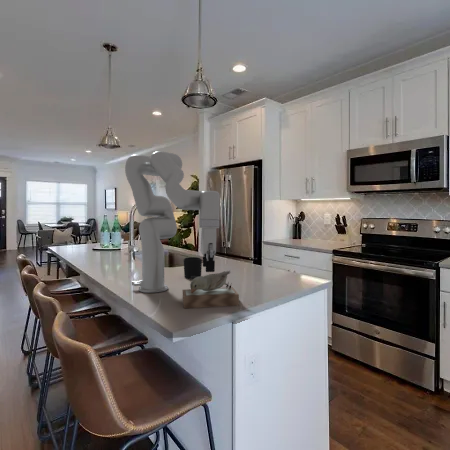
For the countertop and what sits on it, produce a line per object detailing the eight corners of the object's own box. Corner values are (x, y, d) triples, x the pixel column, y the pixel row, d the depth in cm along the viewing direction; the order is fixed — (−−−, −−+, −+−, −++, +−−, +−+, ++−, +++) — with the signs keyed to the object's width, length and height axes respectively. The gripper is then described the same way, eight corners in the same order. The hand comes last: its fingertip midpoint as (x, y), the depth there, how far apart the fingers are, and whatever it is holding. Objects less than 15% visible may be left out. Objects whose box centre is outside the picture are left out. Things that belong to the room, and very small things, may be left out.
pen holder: (180, 278, 161) (179, 259, 160) (190, 275, 169) (190, 256, 169) (195, 280, 157) (195, 260, 156) (205, 276, 165) (205, 257, 164)
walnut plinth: (183, 308, 111) (183, 296, 111) (182, 299, 122) (182, 289, 122) (238, 305, 114) (238, 294, 114) (232, 297, 125) (232, 286, 125)
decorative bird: (188, 291, 118) (188, 272, 117) (228, 287, 124) (228, 269, 123) (192, 295, 113) (192, 274, 112) (233, 291, 119) (233, 271, 118)
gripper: (197, 222, 125) (196, 264, 126) (201, 225, 108) (200, 274, 109) (215, 222, 126) (214, 264, 127) (223, 225, 109) (222, 273, 110)
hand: (208, 269), depth 118 cm, fingers open, 9 cm apart
